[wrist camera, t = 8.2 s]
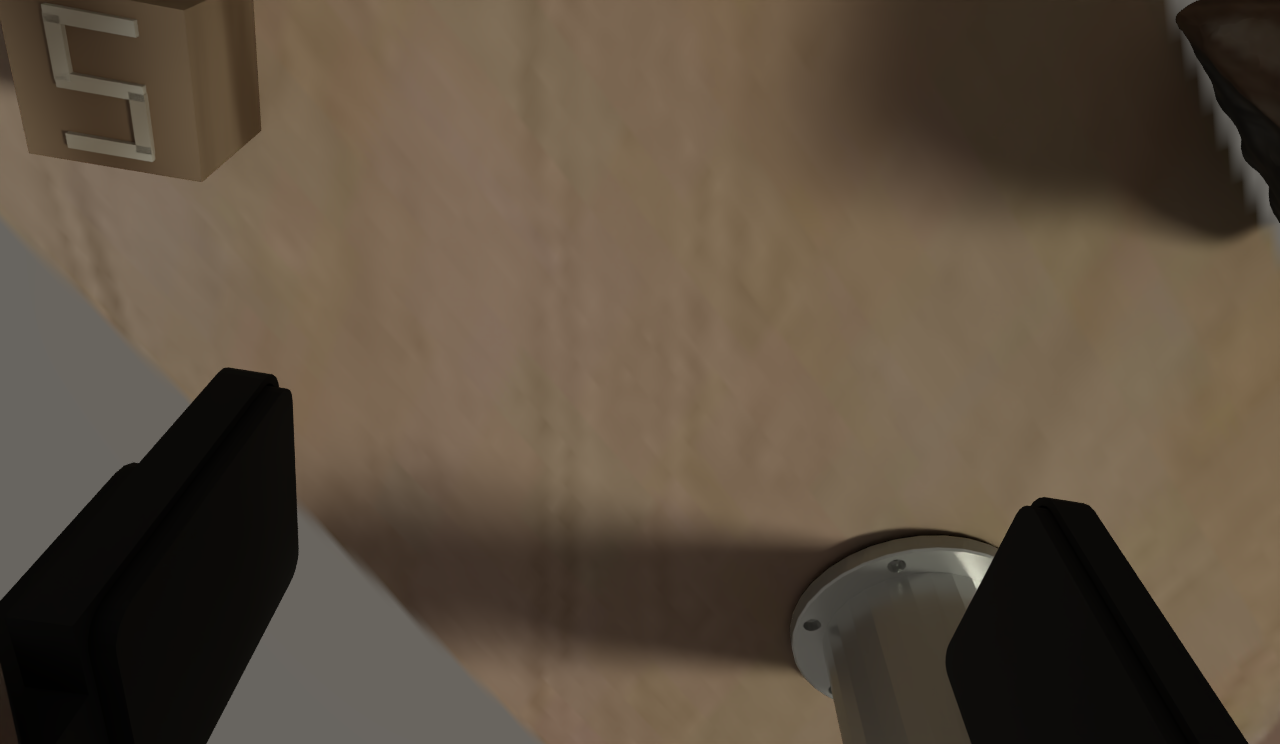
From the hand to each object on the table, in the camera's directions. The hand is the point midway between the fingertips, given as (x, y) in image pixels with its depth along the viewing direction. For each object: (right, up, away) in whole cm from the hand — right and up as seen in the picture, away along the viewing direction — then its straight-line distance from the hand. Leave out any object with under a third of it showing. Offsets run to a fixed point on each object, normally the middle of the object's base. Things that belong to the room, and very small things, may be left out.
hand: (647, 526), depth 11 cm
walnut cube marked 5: (-15, +13, +18) cm, 27 cm away
